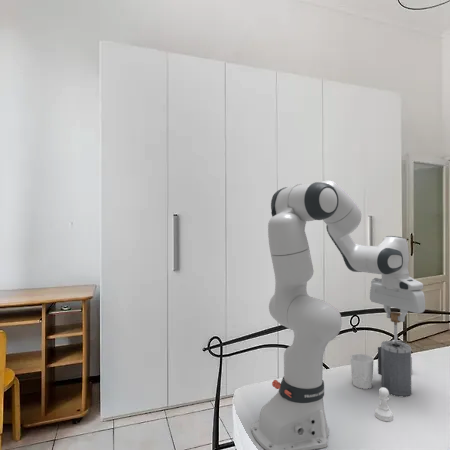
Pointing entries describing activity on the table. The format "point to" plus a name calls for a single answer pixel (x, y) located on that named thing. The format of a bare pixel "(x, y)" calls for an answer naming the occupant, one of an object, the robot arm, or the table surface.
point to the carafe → (395, 367)
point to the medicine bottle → (411, 357)
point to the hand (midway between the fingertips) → (395, 319)
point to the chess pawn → (384, 406)
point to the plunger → (395, 325)
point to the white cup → (362, 370)
